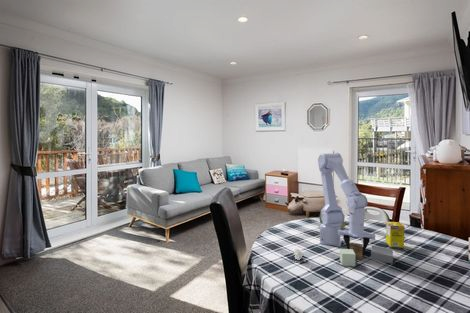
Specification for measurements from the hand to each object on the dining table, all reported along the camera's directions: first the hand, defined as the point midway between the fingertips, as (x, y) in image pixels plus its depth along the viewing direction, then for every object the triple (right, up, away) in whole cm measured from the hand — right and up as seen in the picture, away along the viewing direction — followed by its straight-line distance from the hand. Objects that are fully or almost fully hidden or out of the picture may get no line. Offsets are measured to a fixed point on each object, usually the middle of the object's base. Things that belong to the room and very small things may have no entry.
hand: (356, 253), depth 117 cm
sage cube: (-6, -2, -6) cm, 9 cm away
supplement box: (+23, -1, +10) cm, 25 cm away
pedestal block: (+10, -2, -2) cm, 11 cm away
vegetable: (+3, +1, +37) cm, 38 cm away
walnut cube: (0, -1, 0) cm, 1 cm away
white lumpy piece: (-23, -3, -1) cm, 23 cm away
